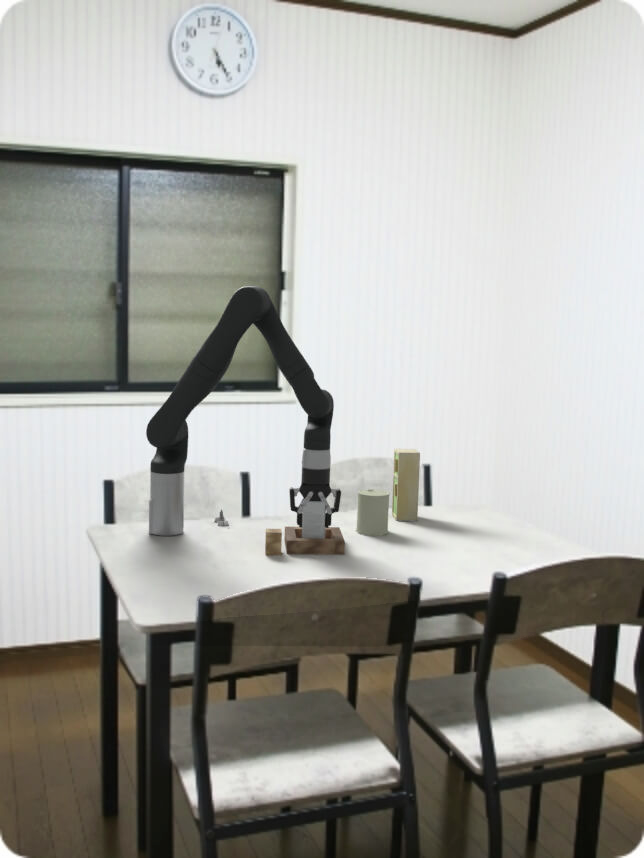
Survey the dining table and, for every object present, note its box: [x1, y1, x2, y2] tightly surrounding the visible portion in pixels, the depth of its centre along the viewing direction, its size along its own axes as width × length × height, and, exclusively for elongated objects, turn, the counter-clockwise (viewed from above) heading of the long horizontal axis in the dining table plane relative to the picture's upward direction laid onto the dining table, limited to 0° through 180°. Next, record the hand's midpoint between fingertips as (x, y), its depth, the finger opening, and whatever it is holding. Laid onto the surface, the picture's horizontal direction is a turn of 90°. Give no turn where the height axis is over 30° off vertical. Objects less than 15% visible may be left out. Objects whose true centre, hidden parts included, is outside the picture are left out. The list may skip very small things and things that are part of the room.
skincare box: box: [302, 500, 327, 539], centre depth 246 cm, size 6×4×12 cm
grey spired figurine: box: [214, 509, 229, 526], centre depth 265 cm, size 15×7×4 cm, turn 17°
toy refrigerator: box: [391, 448, 421, 522], centre depth 283 cm, size 8×7×21 cm
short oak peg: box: [264, 528, 283, 556], centre depth 239 cm, size 4×4×6 cm
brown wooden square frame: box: [284, 526, 346, 555], centre depth 247 cm, size 15×15×4 cm
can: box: [355, 488, 390, 537], centre depth 265 cm, size 9×9×12 cm
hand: (313, 526), depth 246 cm, fingers closed on skincare box, 6 cm apart
